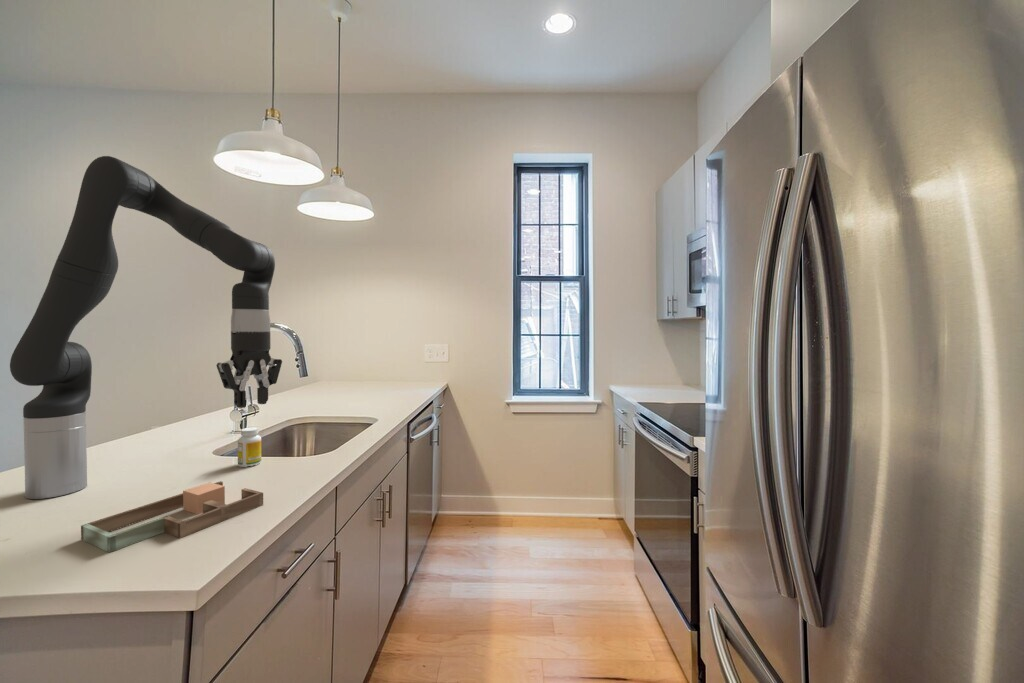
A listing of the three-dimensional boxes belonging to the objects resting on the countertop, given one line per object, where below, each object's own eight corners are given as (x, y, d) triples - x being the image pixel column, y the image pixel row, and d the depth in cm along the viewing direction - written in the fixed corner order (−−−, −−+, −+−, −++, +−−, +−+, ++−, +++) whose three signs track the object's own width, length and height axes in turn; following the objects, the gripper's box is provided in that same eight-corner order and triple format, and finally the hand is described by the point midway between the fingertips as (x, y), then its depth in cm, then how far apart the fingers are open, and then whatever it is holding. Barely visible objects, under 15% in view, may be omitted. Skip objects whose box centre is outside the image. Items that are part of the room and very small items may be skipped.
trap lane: (81, 539, 71) (80, 525, 71) (220, 492, 91) (220, 481, 91) (126, 559, 65) (125, 544, 65) (264, 504, 86) (264, 492, 86)
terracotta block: (183, 510, 83) (183, 490, 83) (209, 500, 87) (209, 482, 87) (198, 515, 81) (198, 495, 81) (224, 505, 85) (224, 486, 85)
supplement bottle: (233, 467, 107) (233, 431, 107) (244, 461, 113) (244, 426, 112) (255, 467, 108) (254, 431, 108) (265, 460, 113) (265, 426, 113)
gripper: (269, 329, 100) (270, 399, 101) (206, 329, 87) (207, 409, 88) (291, 330, 97) (291, 402, 98) (228, 330, 84) (229, 413, 85)
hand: (251, 405), depth 93 cm, fingers open, 4 cm apart
